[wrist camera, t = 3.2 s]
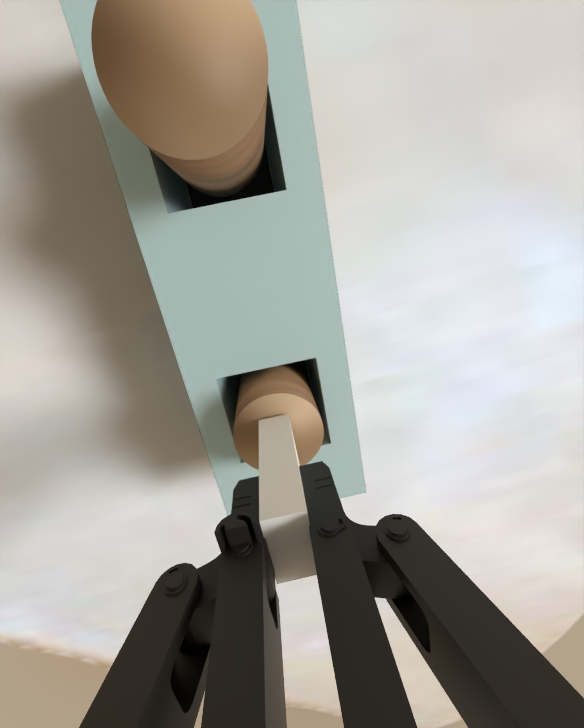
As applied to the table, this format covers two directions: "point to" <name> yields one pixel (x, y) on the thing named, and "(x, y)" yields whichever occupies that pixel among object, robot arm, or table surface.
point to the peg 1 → (188, 84)
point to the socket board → (242, 261)
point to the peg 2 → (277, 410)
